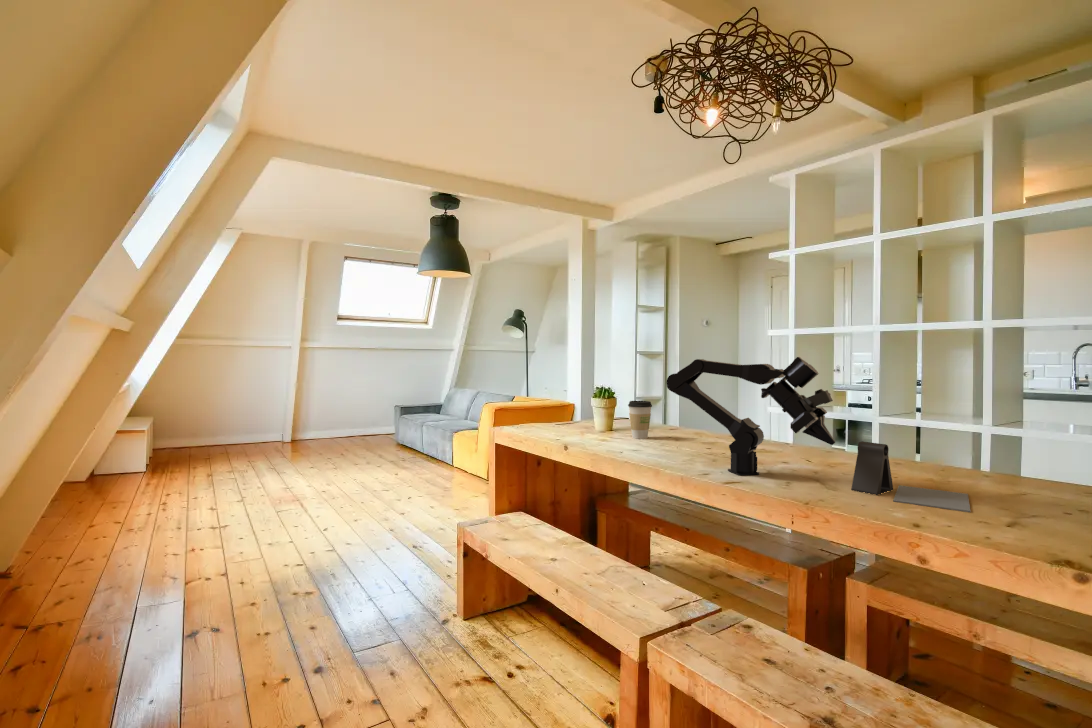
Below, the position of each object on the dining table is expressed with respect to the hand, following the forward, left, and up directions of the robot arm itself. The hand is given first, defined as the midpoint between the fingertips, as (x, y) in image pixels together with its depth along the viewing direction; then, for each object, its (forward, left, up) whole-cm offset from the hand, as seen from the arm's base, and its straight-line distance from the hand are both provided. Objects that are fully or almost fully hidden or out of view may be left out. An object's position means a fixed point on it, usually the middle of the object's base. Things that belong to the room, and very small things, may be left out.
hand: (833, 443), depth 138 cm
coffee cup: (-20, +84, -11) cm, 87 cm away
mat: (+14, -16, -11) cm, 23 cm away
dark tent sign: (+6, -7, -11) cm, 14 cm away
